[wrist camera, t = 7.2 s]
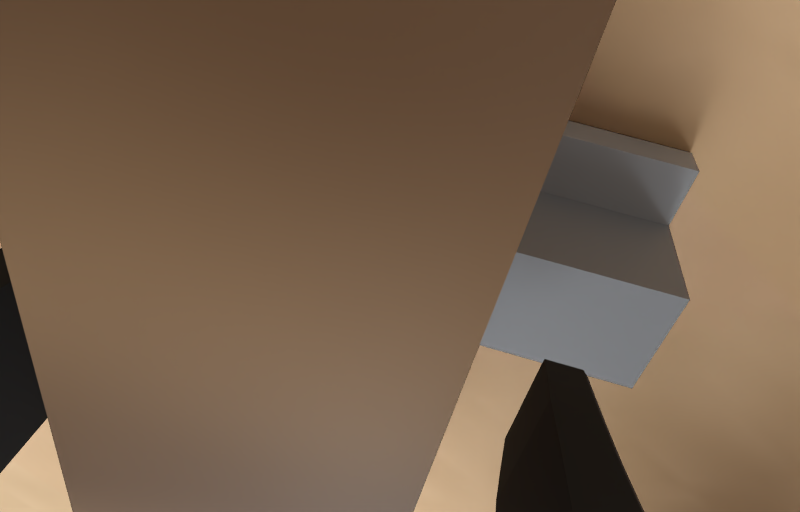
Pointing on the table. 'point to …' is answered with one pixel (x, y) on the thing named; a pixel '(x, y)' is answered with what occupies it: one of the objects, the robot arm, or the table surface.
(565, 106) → the batten
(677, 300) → the ridge
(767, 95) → the table surface
